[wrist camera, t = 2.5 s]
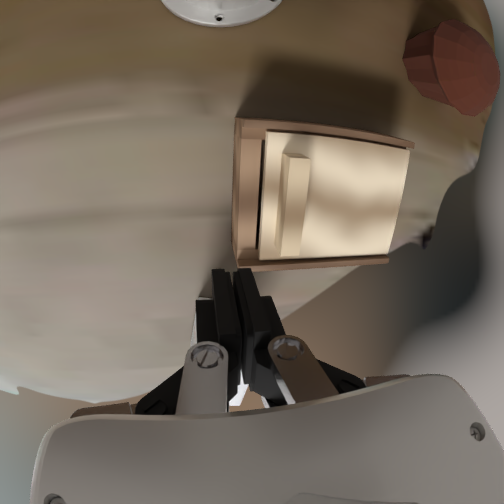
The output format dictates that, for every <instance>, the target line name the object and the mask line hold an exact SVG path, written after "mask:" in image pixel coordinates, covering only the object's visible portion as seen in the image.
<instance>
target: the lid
mask: <svg viewBox="0 0 504 504" xmlns="http://www.w3.org/2000/svg"><path fill="white" fill-rule="evenodd" d="M409 155H410V151H409V150H406V149H402V148H398V147H393V146H387V145H382V144H376V143H371V142H364V141H358V140H351V139H344V138H337V137H329V136H320V135H310V134H300V133H287V132H272V131H266V138H265V154H264V170H263V186H262V201H261V217H260V232H259V247H258V258H259V260H281V259H302V258H322V257H341V256H360V255H379V254H388V250H389V247H390V243H391V239H392V236H393V232H394V228H395V224H396V220H397V216H398V211H399V207H400V202H401V198H402V193H403V188H404V183H405V178H406V173H407V167H408V161H409Z"/></svg>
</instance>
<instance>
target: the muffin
mask: <svg viewBox="0 0 504 504" xmlns="http://www.w3.org/2000/svg"><path fill="white" fill-rule="evenodd" d="M403 62H404V64H405V67H406V69H407V74H408V79H409V81H410V82H411V83H412V84H413V85H414V86H415V87H416V88H417V89H418V91H419V92H420V93H421V95H422V96H424V97H427V98H430V99H433V100H436V101H439V102H442V103H445V104H447V105H450V106H453V107H455V108H456V109H457V110H458V111H459V112H460V113H461V114H463V115H469V116H474V117H475V116H476V115H478V114H479V113H480V112H482V111H483V110H485V108H487V107H488V106H489V105H490V104H492V103H493V101H494V99H495V97H496V94H497V92H498V89H499V84H500V71H499V65H498V61H497V59H496V57H495V54H494V52H493V50H492V48H491V46H490V45H489V43H488V42H487V41H486V40H485V39H484V37H483V36H482V35H481V34H480V33H479V32H478V31H476V30H475V29H473V28H471V27H469V26H468V25H466V24H464V23H462V22H460V21H458V20H456V19H451V20H447V21H443V22H441V23H440V24H439V25H438V26H437V27H435V28H432V29H429V30H427V31H424V32H422V33H419V34H417V35H416V36H415V37H414V38H412V39H409V40H407V41H406V47H405V52H404V56H403Z"/></svg>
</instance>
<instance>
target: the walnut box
mask: <svg viewBox="0 0 504 504" xmlns="http://www.w3.org/2000/svg"><path fill="white" fill-rule="evenodd" d="M266 131H272V132H287V133H300V134H310V135H320V136H329V137H337V138H344V139H351V140H358V141H364V142H371V143H376V144H382V145H387V146H393V147H398V148H402V149H406V147H408V148H413V149H414V144H415V143H414V142H410V141H407V140H404V139H400V138H396V137H393V136H389V135H385V134H381V133H376V132H371V131H366V130H360V129H354V128H348V127H342V126H335V125H328V124H320V123H311V122H302V121H292V120H280V119H264V118H241V117H235V129H234V156H233V187H232V228H231V242H232V247H233V251H234V255H235V259H236V263H237V267H238V268H251V270H252V272H258V271H276V270H294V269H310V268H326V267H341V266H356V265H369V264H382V263H388V261H389V257H387V256H386V255H385V254H379V255H360V256H341V257H322V258H302V259H281V260H259V258H258V247H259V232H260V217H261V201H262V186H263V170H264V154H265V138H266Z"/></svg>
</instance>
